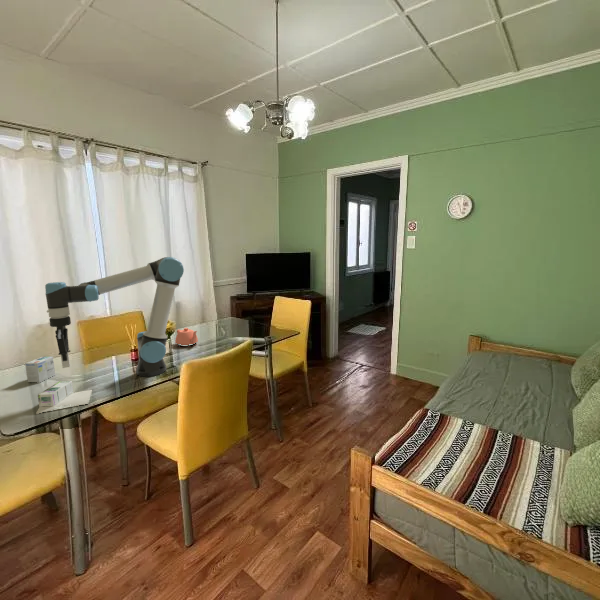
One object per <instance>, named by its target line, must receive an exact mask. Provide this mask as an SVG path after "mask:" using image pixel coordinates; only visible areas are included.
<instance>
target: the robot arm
mask: <svg viewBox="0 0 600 600" xmlns="http://www.w3.org/2000/svg"><path fill="white" fill-rule="evenodd" d="M184 271H185V269H184V265H183V263H182V262H181V261H180V259H177V258H175V257H173V256H167V257H162V258H159V259H157V260H155V261H154V260H153V261H152V262H148V263H147V264H146V265H144V266H142V267H138V268H134V269H130V270H127V271H123V272H120V273H117V274H116V273H115V274H112V275H108V276H105V277H101V278H98V279H94V280H91V281H88V282H82V283H80V284H78V285H69V286H68V285H66V284H67V283H66V282H64V281H57V282H56V281H55V282H48V283H45V285H44V286H45V287H44V288H45V297H46V304H47V310H46V313H48V317H49V326H50V327H52V328H56V330H55V339H56V341H57V347H58V355H59V356H60V359H61V367H62V369H65V368H70V367H71V360H70V354H69V353H70V352H71V350H70V346H69V336H68V335H69V333H68V328H67V326H70V325H72V324H71V323H72V322H71V316H70V315H71V314H70V306H69V304H70V303H71V304H73V303H84V302H86V303H87V302H89V303H91V302H96V301H98V300H99V299H100V297H99V296H100V295H102V294H106V293H110V292H113V291H117V290H120V289H123V288H124V289H125V288H127V287H130V286H135V285H137V284H141V283H145V282H148V281H151V280H153V281H154V282H155V284H156V289H155V293H154V299H153V302H152V307H151V312H150V317H149V321H148V325H147V330H146V331H141V332H140V331H139V332H138V333H137V334H136V335H137V336H136V340H137V349H138V351H137V352H138V362H137V366H136V375H137V376H138V375H139V376H138V377H153V376H158V375H161V374H164V373H165V372H166V371H167V364H166V363H165V360H164V357H165V356H166V353H167V347H166V346H167V341H168V336H167V334H166V331H167V326H168V321H169V317H170V313H171V307H172V303H173V299H174V295H175V289H176V288H177V287H179V286H180V282H181V278H182V277H183V275H184ZM165 370H166V371H165ZM164 371H165V372H164Z"/></svg>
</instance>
